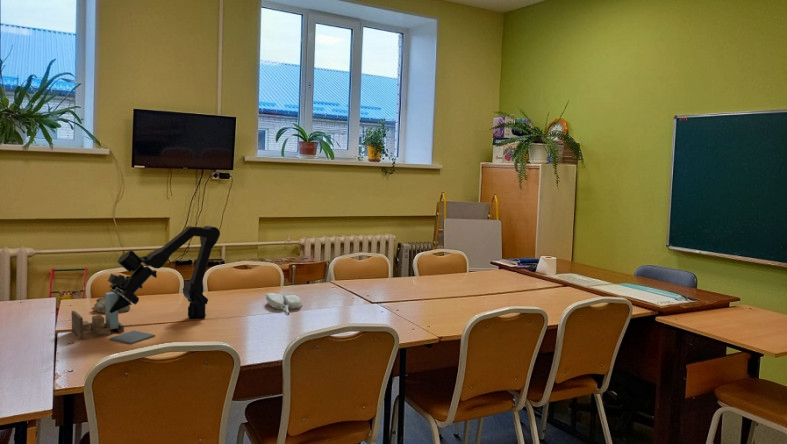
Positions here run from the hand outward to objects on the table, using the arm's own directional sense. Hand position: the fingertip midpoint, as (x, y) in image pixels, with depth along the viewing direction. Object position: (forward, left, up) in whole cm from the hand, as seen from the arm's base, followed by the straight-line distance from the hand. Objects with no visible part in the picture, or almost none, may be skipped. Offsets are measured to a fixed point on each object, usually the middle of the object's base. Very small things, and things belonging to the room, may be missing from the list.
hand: (107, 310), depth 222 cm
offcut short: (+7, +4, -8) cm, 12 cm away
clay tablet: (+7, -37, -8) cm, 39 cm away
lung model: (-69, -30, -9) cm, 75 cm away
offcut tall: (+3, +2, -8) cm, 9 cm away
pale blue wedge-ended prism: (-1, -1, -7) cm, 7 cm away
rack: (+3, +2, -8) cm, 9 cm away
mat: (-11, +11, -8) cm, 17 cm away
